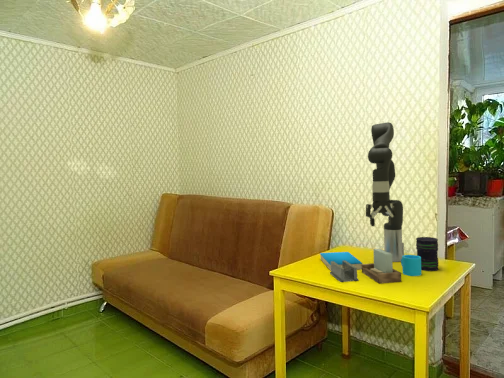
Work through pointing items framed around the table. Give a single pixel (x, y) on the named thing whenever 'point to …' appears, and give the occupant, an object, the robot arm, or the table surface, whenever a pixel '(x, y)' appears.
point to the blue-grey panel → (383, 261)
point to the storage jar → (427, 253)
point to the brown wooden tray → (381, 274)
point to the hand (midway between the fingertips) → (381, 225)
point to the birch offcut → (375, 271)
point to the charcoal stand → (344, 271)
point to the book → (340, 259)
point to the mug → (411, 265)
